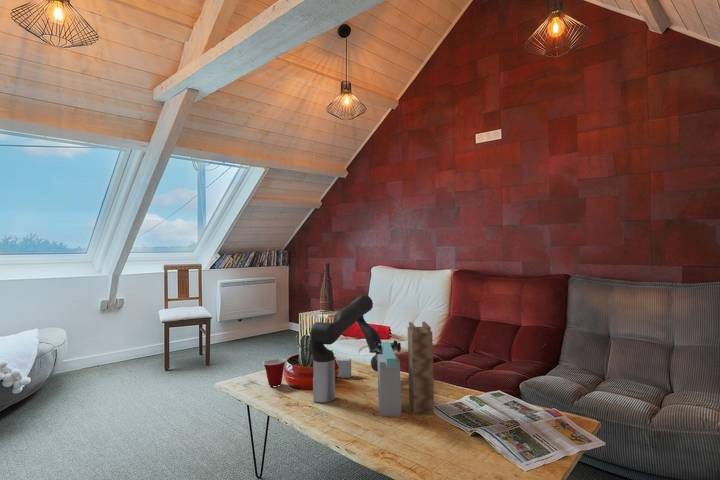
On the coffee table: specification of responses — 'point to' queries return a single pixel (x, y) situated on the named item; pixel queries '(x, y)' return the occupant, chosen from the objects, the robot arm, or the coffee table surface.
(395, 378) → the tall gray pillar
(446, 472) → the coffee table surface
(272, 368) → the plastic cup
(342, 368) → the medicine box
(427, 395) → the post
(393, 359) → the bar
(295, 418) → the coffee table surface
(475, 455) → the coffee table surface
